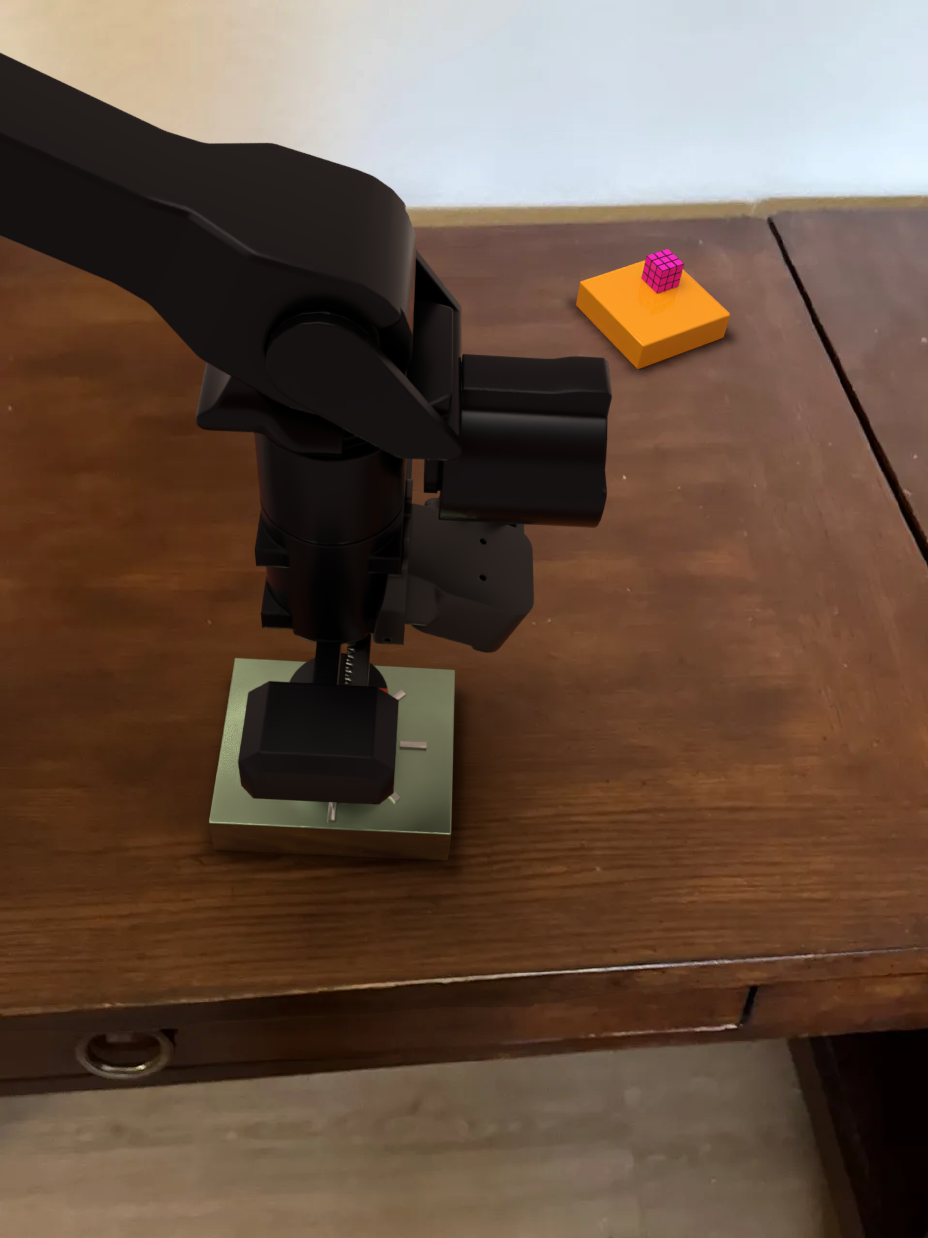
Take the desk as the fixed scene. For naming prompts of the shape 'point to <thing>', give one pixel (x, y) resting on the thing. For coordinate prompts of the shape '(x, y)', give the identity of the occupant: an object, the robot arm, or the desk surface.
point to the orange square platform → (652, 309)
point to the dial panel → (386, 830)
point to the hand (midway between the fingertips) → (336, 706)
